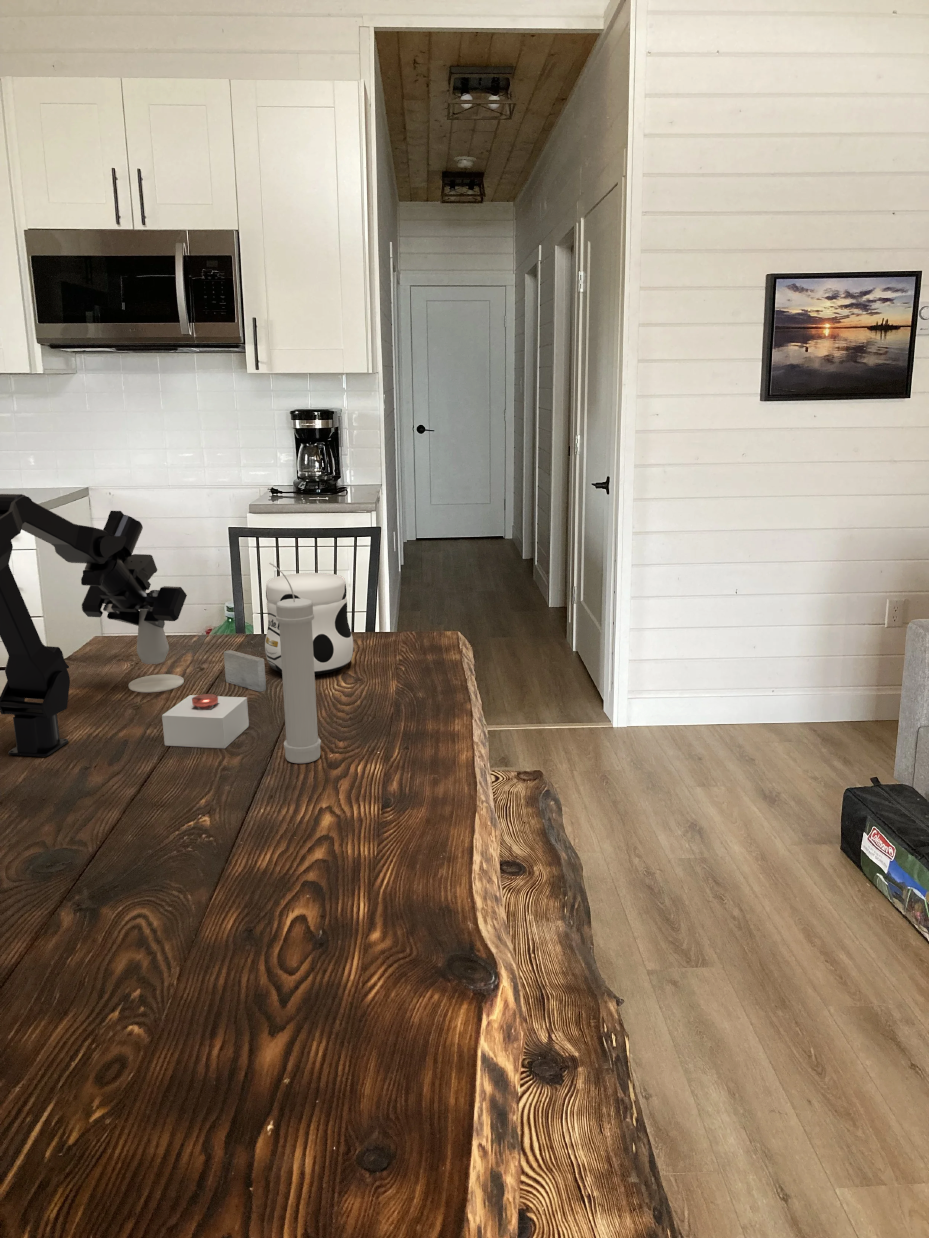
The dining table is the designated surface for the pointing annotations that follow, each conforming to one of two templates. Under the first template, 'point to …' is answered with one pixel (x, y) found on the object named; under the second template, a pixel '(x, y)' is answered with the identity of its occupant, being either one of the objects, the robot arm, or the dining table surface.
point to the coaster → (156, 683)
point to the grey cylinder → (298, 679)
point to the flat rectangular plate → (245, 670)
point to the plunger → (205, 701)
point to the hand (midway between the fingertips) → (154, 625)
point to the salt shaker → (151, 642)
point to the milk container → (326, 626)
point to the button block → (205, 723)
